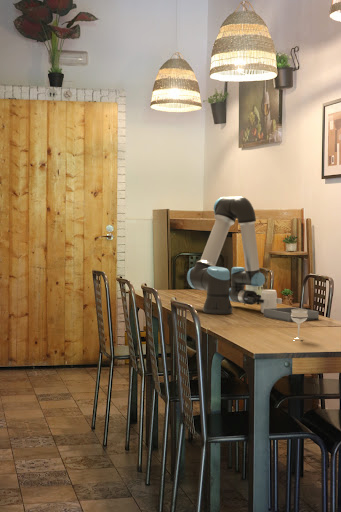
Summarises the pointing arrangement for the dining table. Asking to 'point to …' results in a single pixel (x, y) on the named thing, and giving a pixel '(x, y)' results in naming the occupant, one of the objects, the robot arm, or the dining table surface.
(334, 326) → the dining table surface
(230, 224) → the robot arm
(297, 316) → the wineglass
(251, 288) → the coffee can
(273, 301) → the beverage can
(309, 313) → the bin
